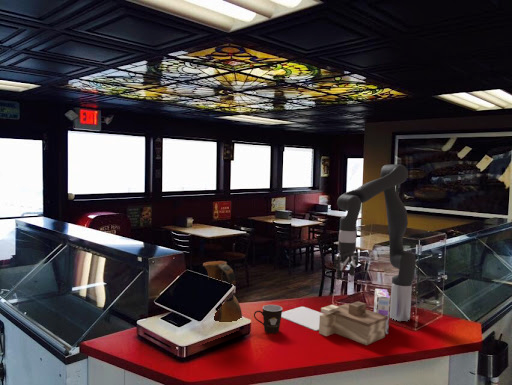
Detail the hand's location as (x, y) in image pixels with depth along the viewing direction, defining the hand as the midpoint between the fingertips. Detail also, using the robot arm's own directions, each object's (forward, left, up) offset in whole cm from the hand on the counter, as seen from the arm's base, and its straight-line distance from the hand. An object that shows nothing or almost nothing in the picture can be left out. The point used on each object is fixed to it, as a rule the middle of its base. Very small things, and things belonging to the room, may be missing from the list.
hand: (345, 276), depth 190 cm
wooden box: (+1, +6, -24) cm, 25 cm away
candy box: (-17, +9, -24) cm, 31 cm away
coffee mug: (+26, -20, -24) cm, 41 cm away
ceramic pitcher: (+44, -32, -24) cm, 60 cm away
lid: (-2, +6, -16) cm, 17 cm away
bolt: (+7, -2, -15) cm, 16 cm away
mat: (0, -19, -24) cm, 31 cm away
